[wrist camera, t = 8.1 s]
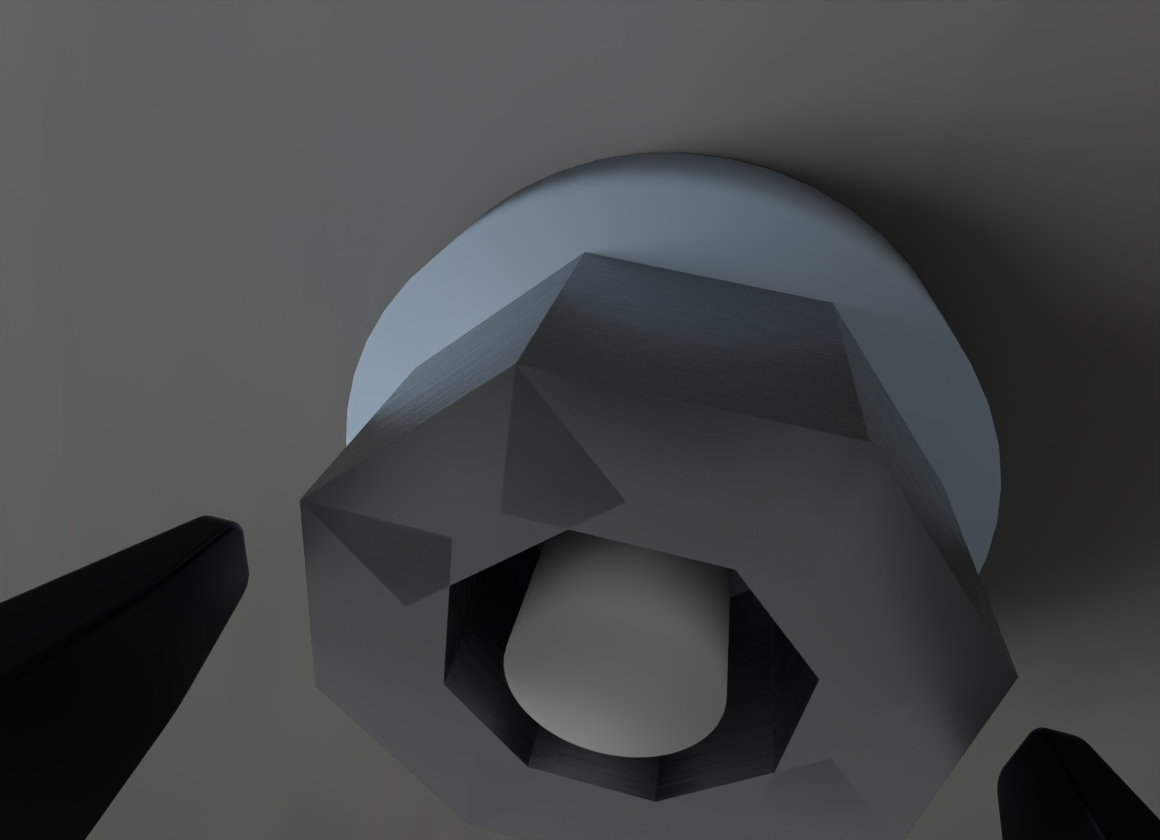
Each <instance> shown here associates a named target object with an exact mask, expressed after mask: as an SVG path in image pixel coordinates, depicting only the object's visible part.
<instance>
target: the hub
mask: <svg viewBox="0 0 1160 840" xmlns="http://www.w3.org/2000/svg"><path fill="white" fill-rule="evenodd" d="M584 252H587V253H592V254H597V255H602V256H606V257H611V258H616V259H621V260H626V261H631V262H636V263H641V264H646V265H651V266H655V267H660V268H665V269H670V270H675V271H680V272H685V273H690V274H695V275H700V276H704V277H709V278H714V279H719V280H724V281H729V282H734V283H739V284H744V285H749V286H753V287H758V288H763V289H768V290H773V291H778V292H783V293H788V294H793V295H798V296H802V297H807V298H812V299H817V300H822V301H827V302H832V303H833V304H834V306H835V307H836V309H837V311H838V312H839V314H840V315H841V317H842V319H843V320H844V322H845V324H846V325H847V327H848V329H849V330H850V332H851V334H852V335H853V337H854V339H855V340H856V342H857V344H858V345H859V347H860V349H861V350H862V352H863V354H864V355H865V357H866V358H867V360H868V362H869V363H870V365H871V367H872V368H873V370H874V372H875V373H876V375H877V377H878V378H879V380H880V382H881V383H882V385H883V387H884V388H885V390H886V392H887V393H888V395H889V397H890V398H891V400H892V401H893V403H894V405H895V406H896V408H897V410H898V411H899V413H900V415H901V416H902V418H903V420H904V421H905V423H906V425H907V426H908V428H909V430H910V431H911V433H912V435H913V436H914V438H915V440H916V441H917V443H918V444H919V446H920V448H921V449H922V451H923V453H924V454H925V456H926V458H927V459H928V461H929V463H930V464H931V466H932V468H933V469H934V471H935V473H936V474H937V476H938V478H939V479H940V481H941V483H942V484H943V486H944V488H945V491H946V493H947V496H948V498H949V501H950V503H951V506H952V509H953V511H954V514H955V516H956V519H957V521H958V524H959V526H960V529H961V532H962V534H963V537H964V539H965V542H966V544H967V547H968V550H969V552H970V555H971V557H972V560H973V562H974V565H975V567H976V570H977V573H978V574H979V572H980V570H981V568H982V566H983V564H984V562H985V560H986V558H987V555H988V551H989V548H990V545H991V541H992V538H993V535H994V531H995V528H996V525H997V518H998V510H999V501H1000V493H1001V471H1000V455H999V444H998V440H997V436H996V431H995V427H994V423H993V419H992V415H991V411H990V407H989V404H988V401H987V399H986V397H985V395H984V392H983V390H982V388H981V386H980V383H979V381H978V379H977V376H976V374H975V372H974V370H973V367H972V365H971V363H970V362H969V360H968V358H967V356H966V355H965V353H964V351H963V350H962V348H961V346H960V345H959V343H958V341H957V339H956V338H955V336H954V334H953V333H952V331H951V329H950V328H949V326H948V324H947V322H946V321H945V319H944V317H943V316H942V314H941V312H940V311H939V309H938V307H937V305H936V304H935V302H934V300H933V299H932V297H931V296H930V294H929V293H928V291H927V290H926V288H925V287H924V285H923V284H922V282H921V280H920V279H919V277H918V276H917V274H916V273H915V271H914V270H913V268H912V267H911V266H910V265H909V264H908V263H907V261H906V260H905V259H904V258H903V257H902V256H901V255H900V254H899V253H898V251H897V250H896V249H895V248H894V247H893V246H892V245H891V244H890V243H889V241H888V240H887V239H886V238H885V237H884V236H883V235H881V234H880V233H879V232H878V231H877V230H875V229H874V228H873V227H872V226H870V225H869V224H868V223H867V222H866V221H864V220H863V219H862V218H861V217H859V216H858V215H857V214H856V213H855V212H853V211H852V210H851V209H849V208H847V207H846V206H844V205H842V204H841V203H839V202H837V201H836V200H834V199H832V198H831V197H829V196H827V195H826V194H824V193H822V192H821V191H819V190H817V189H816V188H814V187H812V186H809V185H807V184H805V183H802V182H800V181H798V180H795V179H793V178H790V177H788V176H786V175H783V174H781V173H779V172H776V171H774V170H771V169H767V168H763V167H760V166H756V165H752V164H748V163H744V162H741V161H737V160H733V159H729V158H722V157H714V156H706V155H697V154H689V153H643V154H634V155H627V156H621V157H614V158H608V159H601V160H596V161H593V162H589V163H586V164H583V165H579V166H576V167H573V168H569V169H566V170H563V171H559V172H557V173H554V174H552V175H550V176H548V177H546V178H544V179H542V180H539V181H537V182H535V183H533V184H531V185H529V186H526V187H524V188H522V189H520V190H519V191H517V192H516V193H514V194H513V195H511V196H510V197H508V198H507V199H505V200H504V201H502V202H500V203H499V204H497V205H496V206H494V207H493V208H491V209H490V210H489V211H487V212H486V213H485V214H484V215H483V216H482V217H480V218H479V219H478V220H477V221H476V222H475V223H473V224H472V225H471V226H470V227H469V228H468V229H466V230H465V231H464V232H463V233H462V234H461V235H460V236H458V237H457V238H456V239H455V240H454V241H453V242H451V243H450V244H449V245H448V246H447V247H446V248H444V249H443V250H442V251H441V252H440V253H439V254H438V255H436V256H435V257H434V258H433V259H432V260H431V261H430V262H429V263H427V264H426V265H425V266H424V267H423V268H422V269H421V270H420V271H419V272H417V273H416V274H415V275H414V276H413V277H412V278H411V279H410V280H409V281H408V282H407V283H406V284H405V286H404V287H403V288H402V289H401V291H400V292H399V293H398V294H397V295H396V297H395V298H394V299H393V300H392V302H391V303H390V304H389V305H388V307H387V308H386V309H385V310H384V312H383V314H382V316H381V317H380V319H379V321H378V323H377V324H376V326H375V328H374V330H373V331H372V333H371V335H370V337H369V338H368V340H367V342H366V345H365V347H364V350H363V353H362V355H361V358H360V361H359V363H358V366H357V369H356V371H355V374H354V378H353V383H352V389H351V394H350V399H349V404H348V410H347V435H346V444H347V445H348V444H349V443H350V442H351V441H352V440H353V439H354V437H355V436H356V435H357V434H358V433H359V432H360V430H361V429H362V428H363V427H364V426H365V425H366V424H367V422H368V421H369V420H370V419H371V418H372V417H373V416H374V414H375V413H376V412H377V411H378V410H379V409H380V408H381V406H382V405H383V404H384V403H385V402H386V401H387V400H388V398H389V397H390V396H391V395H392V394H393V393H394V392H395V390H396V389H397V388H398V387H399V386H400V385H401V384H402V382H403V381H404V380H405V379H406V378H407V377H408V376H409V374H410V373H411V372H412V371H413V370H414V369H415V368H416V367H417V366H419V365H420V364H422V363H423V362H424V361H426V360H427V359H429V358H430V357H432V356H433V355H435V354H436V353H438V352H439V351H441V350H442V349H444V348H445V347H446V346H448V345H449V344H451V343H452V342H454V341H455V340H457V339H458V338H460V337H461V336H463V335H464V334H465V333H467V332H468V331H470V330H471V329H473V328H474V327H476V326H477V325H479V324H480V323H482V322H483V321H484V320H486V319H487V318H489V317H490V316H492V315H493V314H495V313H496V312H498V311H499V310H501V309H502V308H504V307H505V306H506V305H508V304H509V303H511V302H512V301H514V300H515V299H517V298H518V297H520V296H521V295H523V294H524V293H525V292H527V291H528V290H530V289H531V288H533V287H534V286H536V285H537V284H539V283H540V282H542V281H543V280H544V279H546V278H547V277H549V276H550V275H552V274H553V273H555V272H556V271H558V270H559V269H561V268H562V267H564V266H565V265H566V264H568V263H569V262H571V261H572V260H574V259H575V258H577V257H578V256H580V255H581V254H583V253H584ZM535 546H536V547H537V548H538V549H539V550H540V551H541V553H540V556H539V559H538V562H537V564H536V567H535V570H534V572H533V575H532V578H531V581H530V583H529V586H528V589H527V592H526V594H525V597H524V600H523V602H522V605H521V608H520V611H519V613H518V616H517V619H516V622H515V624H514V627H513V630H512V632H511V635H510V638H509V641H508V643H507V646H506V650H505V654H504V671H505V677H506V680H507V683H508V686H509V688H510V690H511V692H512V694H513V696H514V697H515V699H516V700H517V702H518V703H519V705H520V706H521V707H522V708H523V709H524V710H525V711H526V713H527V714H528V715H529V716H531V717H532V718H533V719H534V720H535V721H536V722H537V723H539V724H540V725H541V726H543V727H544V728H545V729H547V730H548V731H550V732H551V733H553V734H555V735H556V736H558V737H560V738H562V739H564V740H566V741H568V742H570V743H572V744H575V745H577V746H580V747H582V748H585V749H589V750H592V751H595V752H599V753H604V754H608V755H615V756H621V757H654V756H662V755H666V754H671V753H675V752H678V751H681V750H684V749H686V748H688V747H690V746H693V745H695V744H696V743H698V742H699V741H701V740H702V739H704V738H705V737H706V736H707V735H709V734H710V733H711V732H712V731H713V730H714V728H715V727H716V726H717V725H718V723H719V721H720V720H721V718H722V716H723V713H724V710H725V706H726V699H727V673H728V641H729V609H730V597H733V596H735V595H738V594H741V593H743V592H746V591H749V590H751V589H750V588H749V587H748V586H747V584H746V583H745V582H744V580H743V579H742V578H741V576H740V575H739V574H738V572H737V571H736V570H734V569H730V568H726V567H722V566H718V565H714V564H710V563H705V562H701V561H697V560H693V559H689V558H685V557H681V556H676V555H672V554H668V553H664V552H660V551H656V550H652V549H647V548H643V547H639V546H635V545H631V544H627V543H623V542H618V541H614V540H610V539H606V538H602V537H598V536H594V535H589V534H585V533H581V532H577V531H573V530H569V529H568V530H566V531H564V532H562V533H560V534H558V535H556V536H553V537H551V538H549V539H547V540H545V541H543V542H541V543H539V544H537V545H535Z"/></svg>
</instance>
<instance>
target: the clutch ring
mask: <svg viewBox="0 0 1160 840" xmlns="http://www.w3.org/2000/svg"><path fill="white" fill-rule="evenodd" d="M300 508H301V520H302V532H303V544H304V555H305V567H306V579H307V591H308V602H309V614H310V626H311V638H312V649H313V661H314V673H315V684H316V687H317V688H318V689H320V690H321V691H322V692H323V693H324V694H325V695H326V696H327V697H328V698H329V699H331V700H332V701H333V702H334V703H335V704H336V705H337V706H338V707H339V708H341V709H342V710H343V711H344V712H345V713H346V714H347V715H348V716H349V717H350V718H352V719H353V720H354V721H355V722H356V723H357V724H358V725H359V726H360V727H362V728H363V729H364V730H365V731H366V732H367V733H368V734H369V735H370V736H371V737H373V738H374V739H375V740H376V741H377V742H378V743H379V744H380V745H381V746H383V747H384V748H385V749H386V750H387V751H388V752H389V753H390V754H391V755H392V756H394V757H395V758H396V759H397V760H398V761H399V762H400V763H401V764H402V765H404V766H405V767H406V768H407V769H408V770H409V771H410V772H411V773H412V774H414V775H415V776H416V777H417V778H418V779H419V780H420V781H421V782H422V783H423V784H425V785H426V786H427V787H428V788H429V789H430V790H431V791H432V792H433V793H435V794H436V795H437V796H438V797H439V798H440V799H441V800H442V801H443V802H444V803H446V804H447V805H448V806H449V807H450V808H451V809H452V810H453V811H454V812H456V813H457V814H458V815H459V816H460V817H461V818H462V819H463V820H464V821H465V822H467V823H468V824H471V825H474V826H478V827H481V828H485V829H488V830H492V831H495V832H499V833H502V834H506V835H510V836H513V837H517V838H520V839H524V840H904V838H905V837H906V835H907V834H908V833H909V831H910V830H911V828H912V827H913V825H914V824H915V823H916V821H917V820H918V818H919V817H920V816H921V814H922V813H923V811H924V810H925V808H926V807H927V806H928V804H929V803H930V801H931V800H932V798H933V797H934V796H935V794H936V793H937V791H938V790H939V789H940V787H941V786H942V784H943V783H944V781H945V780H946V779H947V777H948V776H949V774H950V773H951V772H952V770H953V769H954V767H955V766H956V764H957V763H958V762H959V760H960V759H961V757H962V756H963V755H964V753H965V752H966V750H967V749H968V747H969V746H970V745H971V743H972V742H973V740H974V739H975V738H976V736H977V735H978V733H979V732H980V730H981V729H982V728H983V726H984V725H985V723H986V722H987V720H988V719H989V718H990V716H991V715H992V713H993V712H994V711H995V709H996V708H997V706H998V705H999V703H1000V702H1001V701H1002V699H1003V698H1004V696H1005V695H1006V694H1007V692H1008V691H1009V689H1010V688H1011V686H1012V685H1013V684H1014V682H1015V681H1016V679H1017V678H1018V675H1017V673H1016V670H1015V667H1014V665H1013V662H1012V660H1011V657H1010V655H1009V652H1008V649H1007V647H1006V644H1005V642H1004V639H1003V637H1002V634H1001V632H1000V629H999V626H998V624H997V621H996V619H995V616H994V614H993V611H992V608H991V606H990V603H989V601H988V598H987V596H986V593H985V591H984V588H983V585H982V583H981V580H980V578H979V575H978V573H977V570H976V567H975V565H974V562H973V560H972V557H971V555H970V552H969V550H968V547H967V544H966V542H965V539H964V537H963V534H962V532H961V529H960V526H959V524H958V521H957V519H956V516H955V514H954V511H953V509H952V506H951V503H950V501H949V498H948V496H947V493H946V491H945V488H944V486H943V484H942V483H941V481H940V479H939V478H938V476H937V474H936V473H935V471H934V469H933V468H932V466H931V464H930V463H929V461H928V459H927V458H926V456H925V454H924V453H923V451H922V449H921V448H920V446H919V444H918V443H917V441H916V440H915V438H914V436H913V435H912V433H911V431H910V430H909V428H908V426H907V425H906V423H905V421H904V420H903V418H902V416H901V415H900V413H899V411H898V410H897V408H896V406H895V405H894V403H893V401H892V400H891V398H890V397H889V395H888V393H887V392H886V390H885V388H884V387H883V385H882V383H881V382H880V380H879V378H878V377H877V375H876V373H875V372H874V370H873V368H872V367H871V365H870V363H869V362H868V360H867V358H866V357H865V355H864V354H863V352H862V350H861V349H860V347H859V345H858V344H857V342H856V340H855V339H854V337H853V335H852V334H851V332H850V330H849V329H848V327H847V325H846V324H845V322H844V320H843V319H842V317H841V315H840V314H839V312H838V311H837V309H836V307H835V306H834V304H833V303H832V302H827V301H822V300H817V299H812V298H807V297H802V296H798V295H793V294H788V293H783V292H778V291H773V290H768V289H763V288H758V287H753V286H749V285H744V284H739V283H734V282H729V281H724V280H719V279H714V278H709V277H704V276H700V275H695V274H690V273H685V272H680V271H675V270H670V269H665V268H660V267H655V266H651V265H646V264H641V263H636V262H631V261H626V260H621V259H616V258H611V257H606V256H602V255H597V254H592V253H587V252H584V253H583V254H581V255H580V256H578V257H577V258H575V259H574V260H572V261H571V262H569V263H568V264H566V265H565V266H564V267H562V268H561V269H559V270H558V271H556V272H555V273H553V274H552V275H550V276H549V277H547V278H546V279H544V280H543V281H542V282H540V283H539V284H537V285H536V286H534V287H533V288H531V289H530V290H528V291H527V292H525V293H524V294H523V295H521V296H520V297H518V298H517V299H515V300H514V301H512V302H511V303H509V304H508V305H506V306H505V307H504V308H502V309H501V310H499V311H498V312H496V313H495V314H493V315H492V316H490V317H489V318H487V319H486V320H484V321H483V322H482V323H480V324H479V325H477V326H476V327H474V328H473V329H471V330H470V331H468V332H467V333H465V334H464V335H463V336H461V337H460V338H458V339H457V340H455V341H454V342H452V343H451V344H449V345H448V346H446V347H445V348H444V349H442V350H441V351H439V352H438V353H436V354H435V355H433V356H432V357H430V358H429V359H427V360H426V361H424V362H423V363H422V364H420V365H419V366H417V367H416V368H415V369H414V370H413V371H412V372H411V373H410V374H409V376H408V377H407V378H406V379H405V380H404V381H403V382H402V384H401V385H400V386H399V387H398V388H397V389H396V390H395V392H394V393H393V394H392V395H391V396H390V397H389V398H388V400H387V401H386V402H385V403H384V404H383V405H382V406H381V408H380V409H379V410H378V411H377V412H376V413H375V414H374V416H373V417H372V418H371V419H370V420H369V421H368V422H367V424H366V425H365V426H364V427H363V428H362V429H361V430H360V432H359V433H358V434H357V435H356V436H355V437H354V439H353V440H352V441H351V442H350V443H349V444H348V445H347V447H346V448H345V449H344V450H343V451H342V452H341V453H340V455H339V456H338V457H337V458H336V459H335V460H334V461H333V463H332V464H331V465H330V466H329V467H328V468H327V469H326V471H325V472H324V473H323V474H322V475H321V476H320V477H319V479H318V480H317V481H316V482H315V483H314V484H313V485H312V487H311V488H310V489H309V490H308V491H307V492H306V493H305V495H304V496H303V497H302V498H301V499H300ZM568 529H569V530H573V531H577V532H581V533H585V534H589V535H594V536H598V537H602V538H606V539H610V540H614V541H618V542H623V543H627V544H631V545H635V546H639V547H643V548H647V549H652V550H656V551H660V552H664V553H668V554H672V555H676V556H681V557H685V558H689V559H693V560H697V561H701V562H705V563H710V564H714V565H718V566H722V567H726V568H730V569H734V570H736V571H737V572H738V574H739V575H740V576H741V578H742V579H743V580H744V582H745V583H746V584H747V586H748V587H749V588H750V589H751V590H749V591H746V592H743V593H741V594H738V595H735V596H733V597H730V609H729V641H728V673H727V699H726V706H725V710H724V713H723V716H722V718H721V720H720V721H719V723H718V725H717V726H716V727H715V728H714V730H713V731H712V732H711V733H710V734H709V735H707V736H706V737H705V738H704V739H702V740H701V741H699V742H698V743H696V744H695V745H693V746H690V747H688V748H686V749H684V750H681V751H678V752H675V753H671V754H666V755H662V756H654V757H621V756H615V755H608V754H604V753H599V752H595V751H592V750H589V749H585V748H582V747H580V746H577V745H575V744H572V743H570V742H568V741H566V740H564V739H562V738H560V737H558V736H556V735H555V734H553V733H551V732H550V731H548V730H547V729H545V728H544V727H543V726H541V725H540V724H539V723H537V722H536V721H535V720H534V719H533V718H532V717H531V716H529V715H528V714H527V713H526V711H525V710H524V709H523V708H522V707H521V706H520V705H519V703H518V702H517V700H516V699H515V697H514V696H513V694H512V692H511V690H510V688H509V686H508V683H507V680H506V677H505V671H504V654H505V650H506V646H507V643H508V641H509V638H510V635H511V632H512V630H513V627H514V624H515V622H516V619H517V616H518V613H519V611H520V608H521V605H522V602H523V600H524V597H525V594H526V592H527V589H528V586H529V583H530V581H531V578H532V575H533V572H534V570H535V567H536V564H537V562H538V559H539V556H540V553H541V551H540V550H539V549H538V548H537V547H536V546H535V545H537V544H539V543H541V542H543V541H545V540H547V539H549V538H551V537H553V536H556V535H558V534H560V533H562V532H564V531H566V530H568Z"/></svg>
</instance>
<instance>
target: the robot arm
mask: <svg viewBox="0 0 1160 840" xmlns="http://www.w3.org/2000/svg"><path fill="white" fill-rule="evenodd" d="M248 578H249V570H248V562H247V555H246V548H245V541H244V534H243V529H242V528H241V526H240V525H239V524H238V523H236V522H233V521H230V520H226V519H222V518H218V517H214V516H202V517H199V518H196V519H194V520H191V521H189V522H187V523H184V524H182V525H180V526H177V527H175V528H173V529H170V530H168V531H166V532H163V533H161V534H159V535H156V536H154V537H152V538H149V539H147V540H145V541H143V542H140V543H138V544H136V545H133V546H131V547H129V548H126V549H124V550H122V551H119V552H117V553H115V554H112V555H110V556H108V557H105V558H103V559H101V560H98V561H96V562H94V563H92V564H89V565H87V566H85V567H82V568H80V569H78V570H75V571H73V572H71V573H68V574H66V575H64V576H61V577H59V578H57V579H54V580H52V581H50V582H47V583H45V584H43V585H41V586H38V587H36V588H34V589H31V590H29V591H27V592H24V593H22V594H20V595H17V596H15V597H13V598H10V599H8V600H6V601H3V602H1V603H0V840H85V839H86V838H87V836H88V835H89V833H90V832H91V831H92V829H93V828H94V826H95V825H96V824H97V822H98V821H99V819H100V818H101V817H102V815H103V814H104V812H105V811H106V809H107V808H108V807H109V805H110V804H111V802H112V801H113V800H114V798H115V797H116V795H117V794H118V793H119V791H120V790H121V788H122V787H123V786H124V784H125V783H126V781H127V780H128V779H129V777H130V776H131V774H132V773H133V772H134V770H135V769H136V767H137V766H138V765H139V763H140V762H141V760H142V759H143V757H144V756H145V755H146V753H147V752H148V750H149V749H150V748H151V746H152V745H153V743H154V742H155V741H156V739H157V738H158V736H159V735H160V734H161V732H162V731H163V729H164V728H165V726H166V725H167V723H168V722H169V721H170V719H171V718H172V716H173V715H174V713H175V712H176V710H177V709H178V707H179V705H180V704H181V702H182V700H183V699H184V697H185V696H186V694H187V692H188V691H189V689H190V687H191V685H192V684H193V682H194V680H195V678H196V677H197V675H198V673H199V671H200V670H201V668H202V666H203V664H204V663H205V661H206V659H207V657H208V656H209V654H210V652H211V650H212V648H213V647H214V645H215V643H216V641H217V640H218V638H219V636H220V634H221V633H222V631H223V629H224V627H225V626H226V624H227V622H228V620H229V619H230V617H231V615H232V613H233V612H234V610H235V608H236V606H237V605H238V603H239V601H240V599H241V598H242V596H243V594H244V592H245V589H246V587H247V583H248ZM997 792H998V803H999V812H1000V821H1001V830H1002V839H1003V840H1160V819H1159V818H1158V817H1157V816H1156V815H1155V814H1154V813H1153V812H1152V811H1151V810H1150V809H1149V808H1148V807H1147V806H1146V805H1145V803H1144V802H1143V801H1142V800H1141V799H1140V798H1139V797H1138V796H1137V795H1136V794H1135V793H1134V792H1133V791H1132V790H1131V789H1130V788H1129V787H1128V785H1127V784H1126V783H1125V782H1124V781H1123V780H1122V779H1121V778H1120V777H1119V776H1118V775H1117V774H1116V773H1115V772H1114V771H1113V770H1112V768H1111V767H1110V766H1109V765H1108V764H1107V763H1106V762H1105V761H1104V760H1103V759H1102V758H1101V757H1100V756H1099V755H1098V754H1097V753H1096V751H1095V750H1094V749H1093V748H1092V747H1091V746H1090V745H1089V744H1088V743H1087V742H1086V741H1084V740H1083V739H1081V738H1080V737H1077V736H1075V735H1072V734H1068V733H1064V732H1060V731H1056V730H1052V729H1048V728H1037V729H1035V730H1033V731H1032V732H1031V733H1030V734H1029V735H1028V736H1027V737H1026V739H1025V740H1024V741H1023V743H1022V744H1021V745H1020V746H1019V748H1018V749H1017V750H1016V752H1015V753H1014V754H1013V755H1012V757H1011V758H1010V759H1009V761H1008V762H1007V763H1006V765H1005V766H1004V767H1003V769H1002V771H1001V773H1000V776H999V779H998V788H997Z"/></svg>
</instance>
